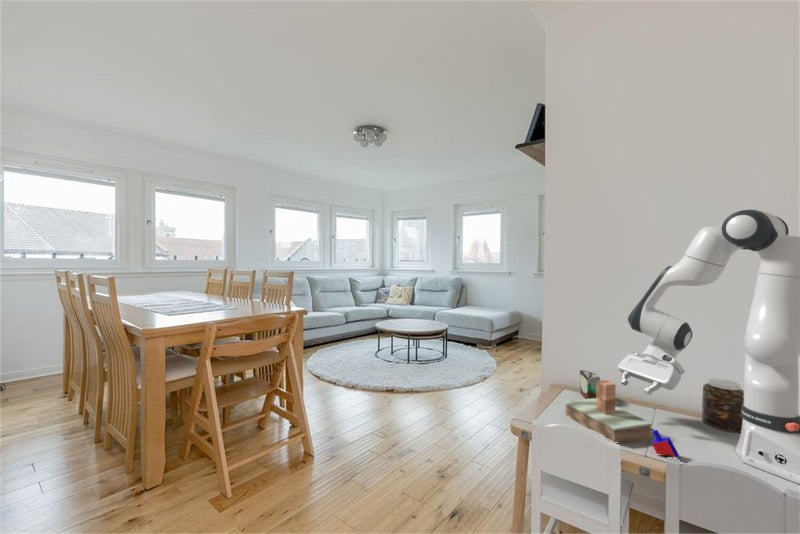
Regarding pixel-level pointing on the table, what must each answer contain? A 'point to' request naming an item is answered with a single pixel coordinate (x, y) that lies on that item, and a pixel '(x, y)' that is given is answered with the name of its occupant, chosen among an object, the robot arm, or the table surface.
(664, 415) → the table surface
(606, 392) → the tall block
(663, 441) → the toy building block
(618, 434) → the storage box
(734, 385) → the jar
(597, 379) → the food container
